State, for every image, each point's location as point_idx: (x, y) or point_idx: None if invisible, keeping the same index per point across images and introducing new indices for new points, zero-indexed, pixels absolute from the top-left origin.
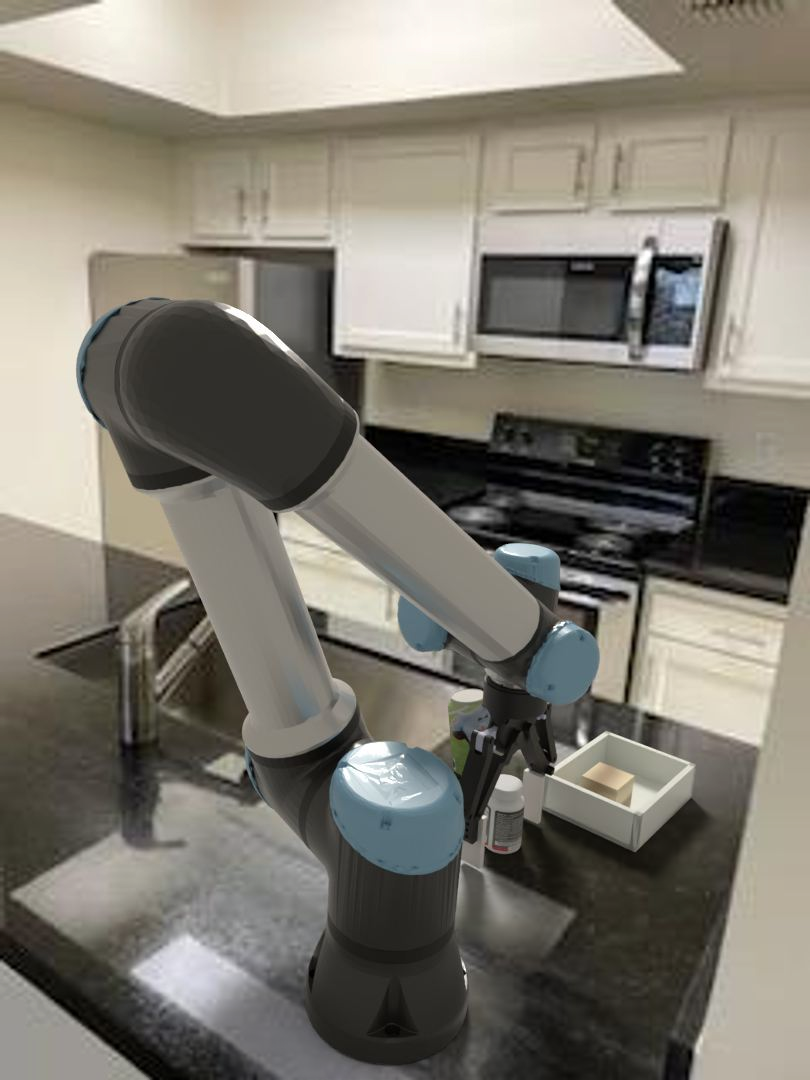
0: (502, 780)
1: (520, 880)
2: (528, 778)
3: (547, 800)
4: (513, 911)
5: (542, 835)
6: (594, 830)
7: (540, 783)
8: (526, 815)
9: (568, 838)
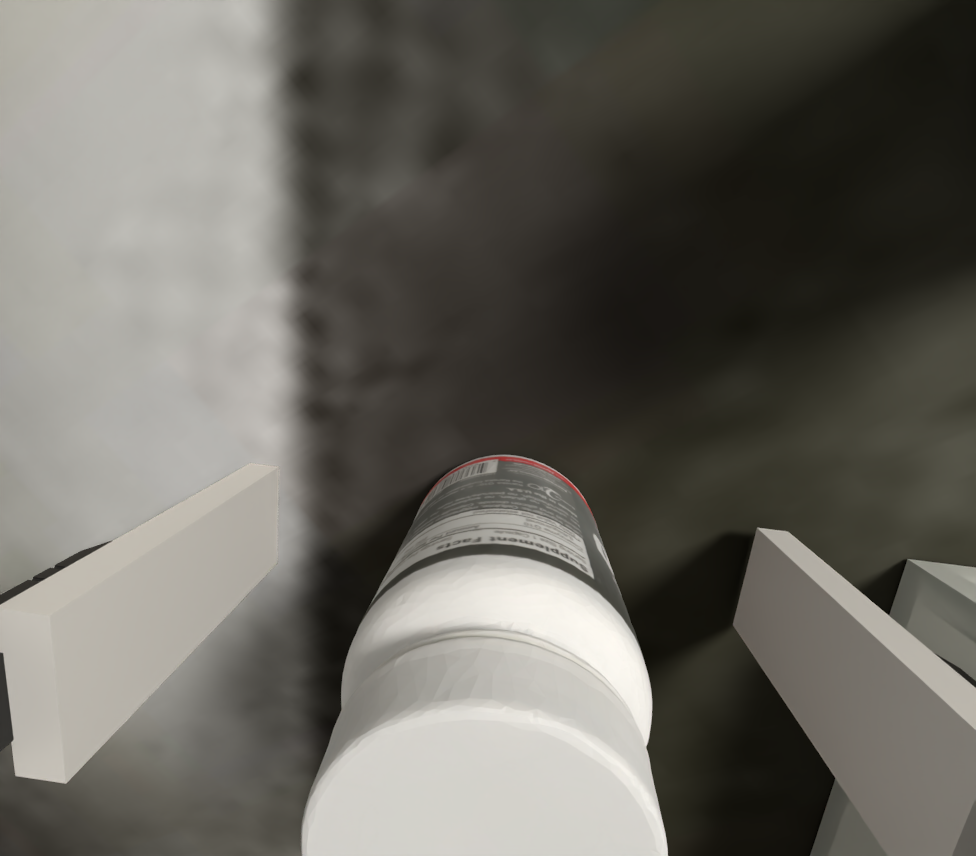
0: (487, 827)
1: (334, 692)
2: (923, 744)
3: (946, 631)
4: (170, 734)
5: (680, 651)
6: (833, 825)
7: (888, 845)
8: (757, 573)
9: (725, 741)
